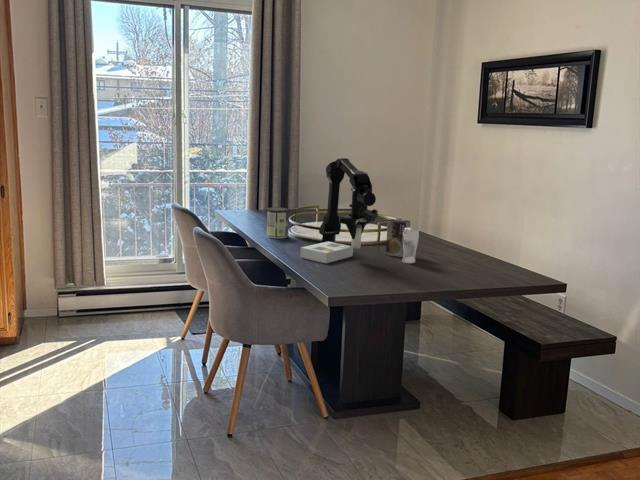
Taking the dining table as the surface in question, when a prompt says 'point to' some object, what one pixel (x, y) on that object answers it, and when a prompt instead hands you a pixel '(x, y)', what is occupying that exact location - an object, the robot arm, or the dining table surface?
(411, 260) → the beer glass
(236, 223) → the dining table surface
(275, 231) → the coffee can
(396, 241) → the coffee box
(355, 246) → the plug
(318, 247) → the port box
